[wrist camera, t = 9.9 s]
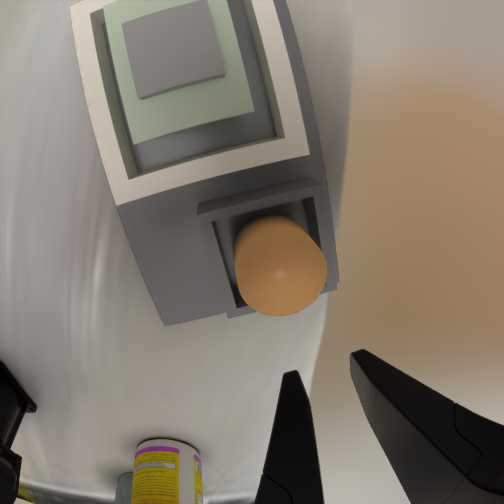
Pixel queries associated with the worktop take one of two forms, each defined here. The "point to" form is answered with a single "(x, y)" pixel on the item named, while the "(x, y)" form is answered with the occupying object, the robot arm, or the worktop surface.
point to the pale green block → (176, 64)
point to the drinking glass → (124, 489)
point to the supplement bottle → (166, 474)
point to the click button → (278, 265)
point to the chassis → (211, 166)
